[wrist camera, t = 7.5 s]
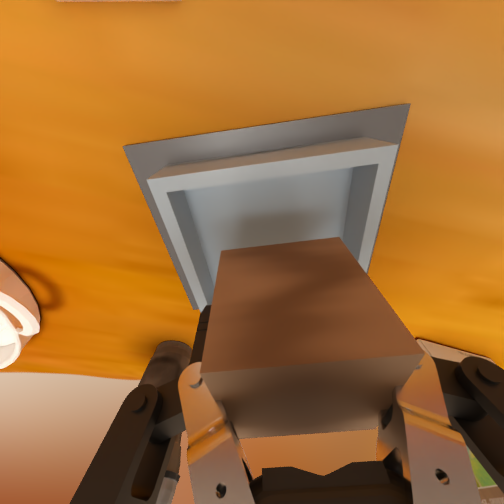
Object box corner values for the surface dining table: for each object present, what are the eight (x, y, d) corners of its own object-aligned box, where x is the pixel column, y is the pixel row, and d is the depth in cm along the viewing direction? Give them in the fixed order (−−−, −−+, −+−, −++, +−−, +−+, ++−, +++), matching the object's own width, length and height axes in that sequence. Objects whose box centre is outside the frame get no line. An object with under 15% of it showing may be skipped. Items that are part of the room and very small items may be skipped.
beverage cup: (192, 368, 30) (128, 678, 14) (140, 357, 28) (-7, 704, 12) (210, 342, 27) (152, 720, 10) (152, 328, 25) (-37, 769, 8)
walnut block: (339, 236, 10) (425, 353, 5) (328, 314, 14) (375, 428, 9) (221, 250, 11) (199, 373, 6) (239, 322, 14) (235, 439, 9)
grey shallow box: (406, 103, 13) (462, 101, 9) (360, 289, 22) (381, 321, 18) (125, 145, 14) (86, 156, 10) (194, 306, 23) (185, 340, 19)
